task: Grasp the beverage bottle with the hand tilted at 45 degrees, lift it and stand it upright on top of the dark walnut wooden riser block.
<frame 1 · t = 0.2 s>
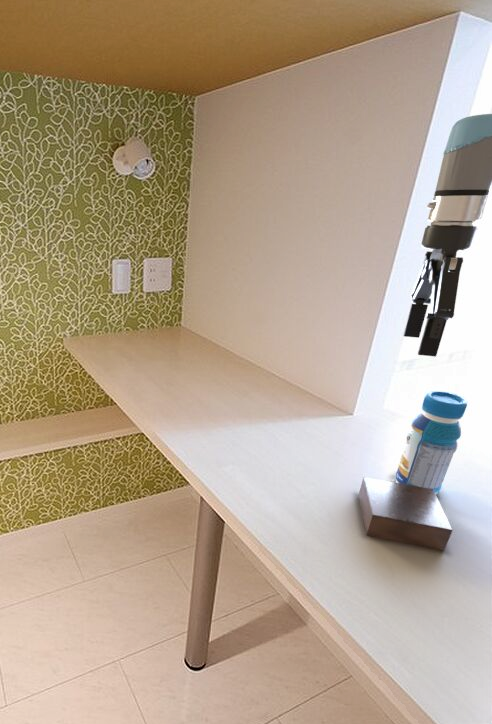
hand: (418, 345, 83), 28 cm above the table, tool pointing down, fingers open, 13 cm apart
riser: (397, 521, 80), on the table
beverage bottle: (415, 486, 90), on the table
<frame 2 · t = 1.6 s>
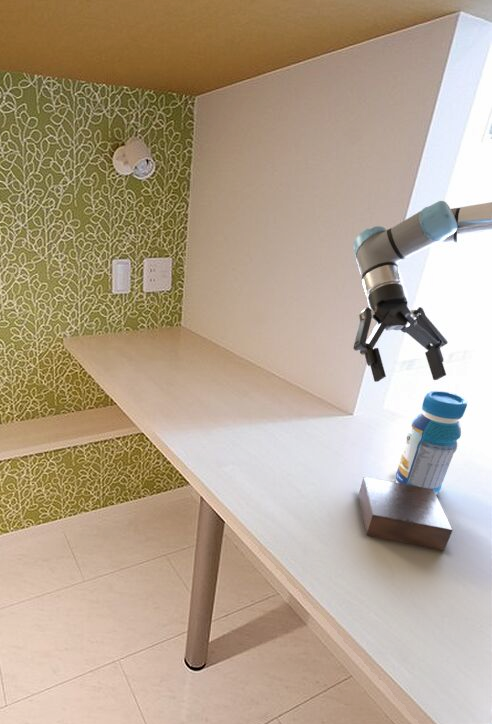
hand: (410, 378, 91), 20 cm above the table, tool tilted 45°, fingers open, 13 cm apart
nothing on the table moved.
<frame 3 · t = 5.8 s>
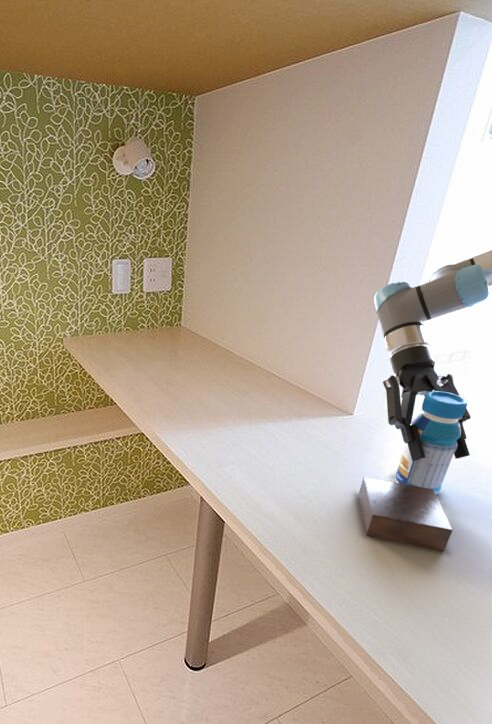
hand: (440, 457, 84), 9 cm above the table, tool tilted 45°, fingers closed on beverage bottle, 8 cm apart
beverage bottle: (415, 486, 90), on the table, touching gripper
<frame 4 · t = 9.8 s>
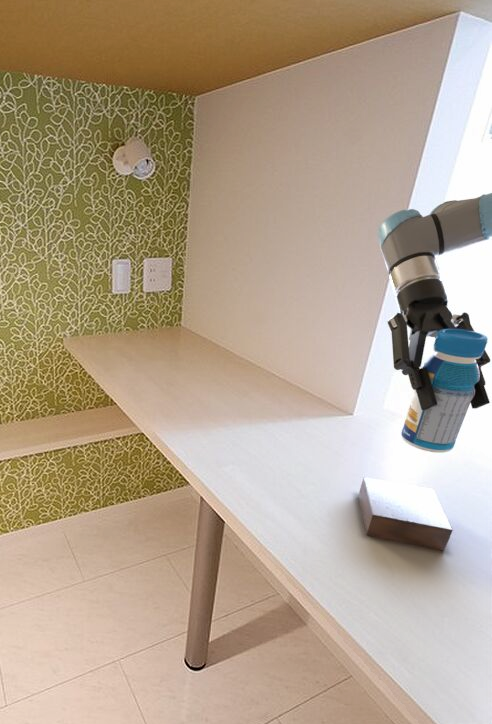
hand: (455, 406, 71), 23 cm above the table, tool tilted 45°, fingers closed on beverage bottle, 8 cm apart
beverage bottle: (425, 443, 78), point 14 cm above the table, touching gripper
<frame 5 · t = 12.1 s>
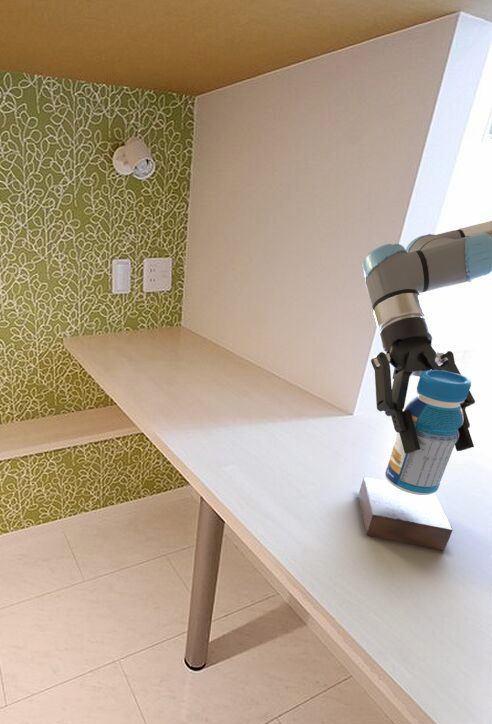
hand: (439, 450, 70), 17 cm above the table, tool tilted 45°, fingers closed on beverage bottle, 8 cm apart
beverage bottle: (409, 483, 76), point 8 cm above the table, touching gripper
when the fingers open (13 cm above the table, at t = 13.7 s): beverage bottle stays where it is, resting on riser.
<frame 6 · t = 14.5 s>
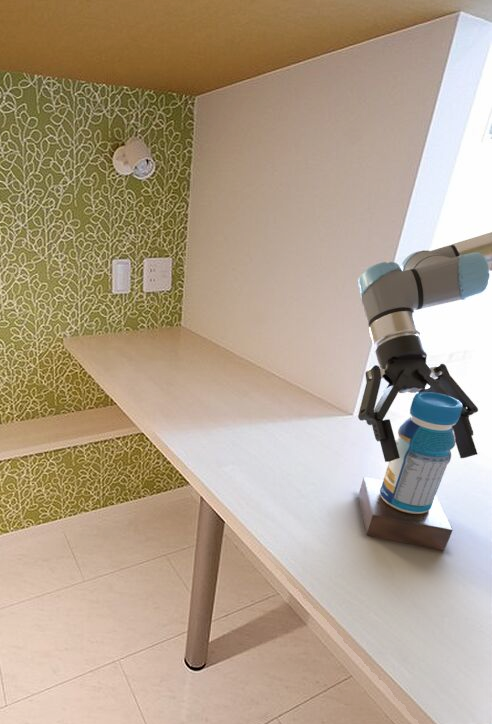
hand: (431, 458, 71), 15 cm above the table, tool tilted 45°, fingers open, 13 cm apart
beverage bottle: (403, 501, 78), point 4 cm above the table, touching riser
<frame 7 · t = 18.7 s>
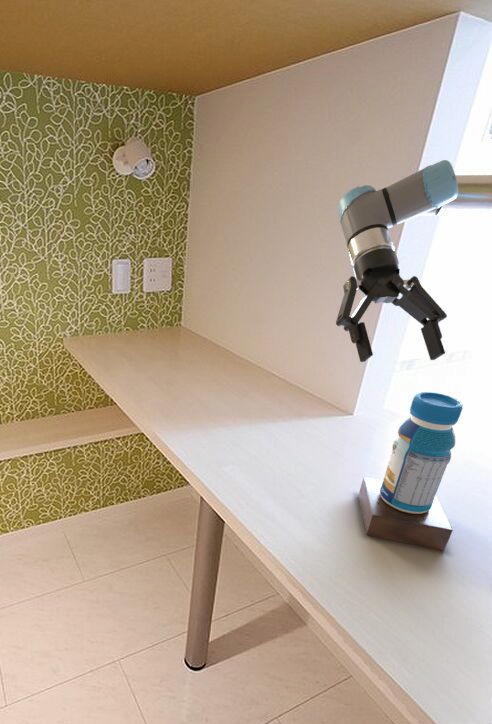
hand: (402, 357, 77), 28 cm above the table, tool tilted 45°, fingers open, 13 cm apart
nothing on the table moved.
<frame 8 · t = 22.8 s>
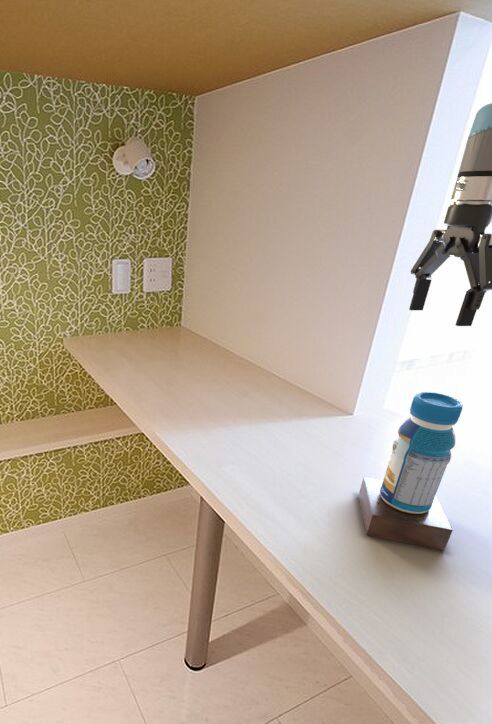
hand: (437, 317, 90), 32 cm above the table, tool pointing down, fingers open, 13 cm apart
nothing on the table moved.
at the end: beverage bottle inside the target area on the riser (0.1 cm from its centre), point 4.3 cm above the riser's base; beverage bottle tilted 0°; the gripper is holding nothing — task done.
